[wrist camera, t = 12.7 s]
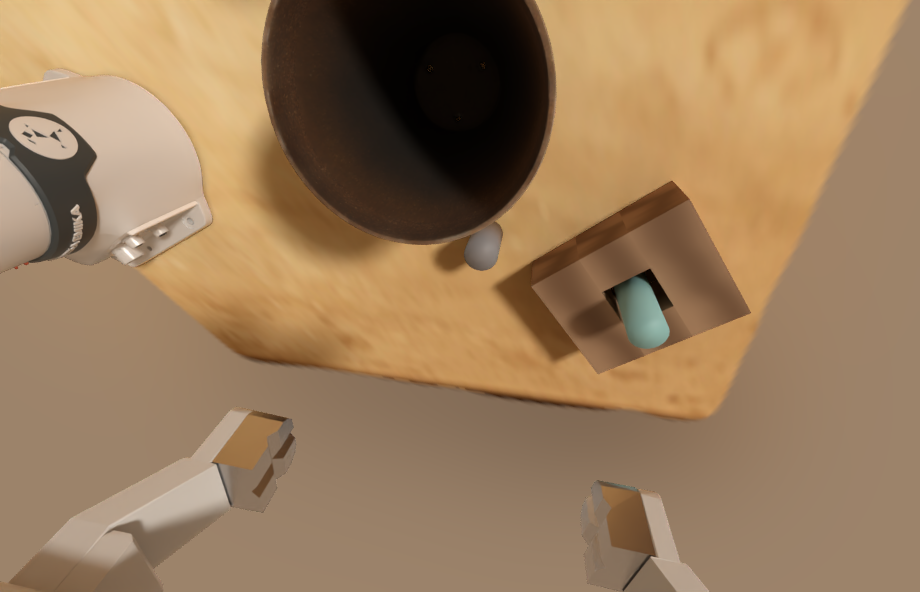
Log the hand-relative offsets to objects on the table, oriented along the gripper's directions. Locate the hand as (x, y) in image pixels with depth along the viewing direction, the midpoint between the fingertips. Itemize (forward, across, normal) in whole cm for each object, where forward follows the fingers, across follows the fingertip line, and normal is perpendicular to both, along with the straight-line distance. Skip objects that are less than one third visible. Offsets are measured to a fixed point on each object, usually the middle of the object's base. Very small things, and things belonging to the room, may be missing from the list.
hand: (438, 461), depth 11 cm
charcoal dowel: (+30, 0, +6) cm, 31 cm away
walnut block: (+30, -14, +8) cm, 34 cm away
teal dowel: (+30, -14, +8) cm, 34 cm away
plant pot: (+31, +5, -6) cm, 32 cm away
